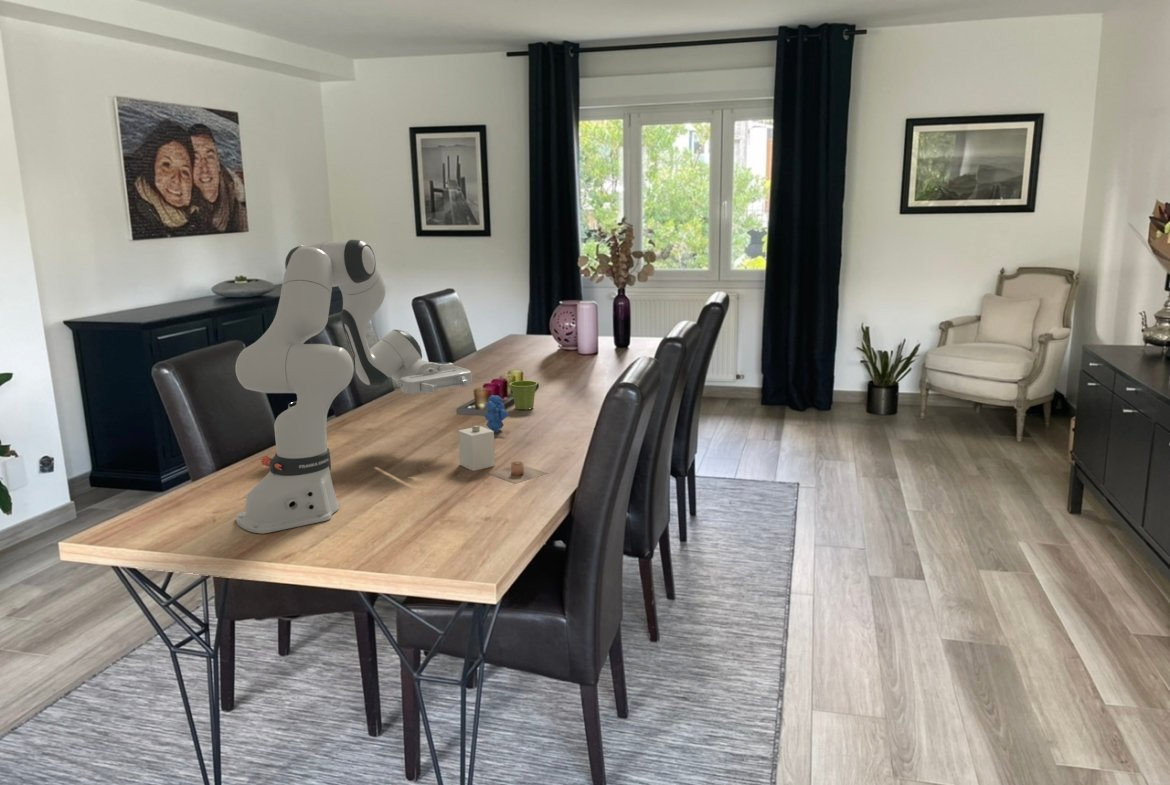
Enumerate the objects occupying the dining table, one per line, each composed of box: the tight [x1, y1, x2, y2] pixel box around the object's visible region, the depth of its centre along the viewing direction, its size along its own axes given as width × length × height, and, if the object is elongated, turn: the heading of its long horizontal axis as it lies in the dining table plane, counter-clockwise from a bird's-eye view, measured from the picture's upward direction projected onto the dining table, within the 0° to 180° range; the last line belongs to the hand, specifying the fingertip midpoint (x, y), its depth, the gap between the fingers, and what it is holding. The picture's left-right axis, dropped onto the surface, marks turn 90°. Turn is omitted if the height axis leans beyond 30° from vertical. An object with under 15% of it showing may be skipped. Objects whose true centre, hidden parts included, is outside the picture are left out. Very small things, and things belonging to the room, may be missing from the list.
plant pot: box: [509, 380, 538, 410], centre depth 290 cm, size 9×9×9 cm
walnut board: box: [487, 464, 549, 484], centre depth 220 cm, size 11×11×1 cm
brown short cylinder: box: [510, 460, 525, 476], centre depth 220 cm, size 3×3×3 cm
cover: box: [457, 424, 496, 472], centre depth 226 cm, size 7×7×11 cm
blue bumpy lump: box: [484, 394, 509, 434], centre depth 260 cm, size 12×7×12 cm, turn 164°
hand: (450, 386), depth 232 cm, fingers open, 8 cm apart
